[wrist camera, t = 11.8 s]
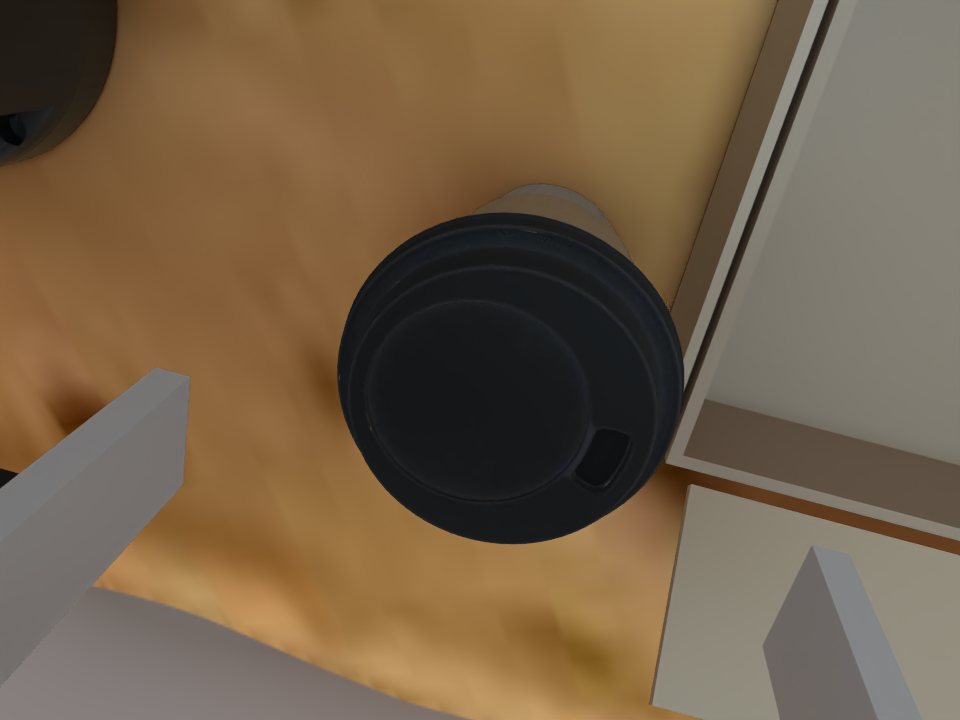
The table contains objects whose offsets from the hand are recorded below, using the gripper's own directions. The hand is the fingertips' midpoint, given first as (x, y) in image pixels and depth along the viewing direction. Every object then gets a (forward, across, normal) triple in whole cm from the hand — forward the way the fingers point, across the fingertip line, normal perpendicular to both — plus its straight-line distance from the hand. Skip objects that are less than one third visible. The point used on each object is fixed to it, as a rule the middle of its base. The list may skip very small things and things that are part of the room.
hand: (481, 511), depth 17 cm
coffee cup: (+19, 0, 0) cm, 19 cm away
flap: (+10, +16, -8) cm, 21 cm away
